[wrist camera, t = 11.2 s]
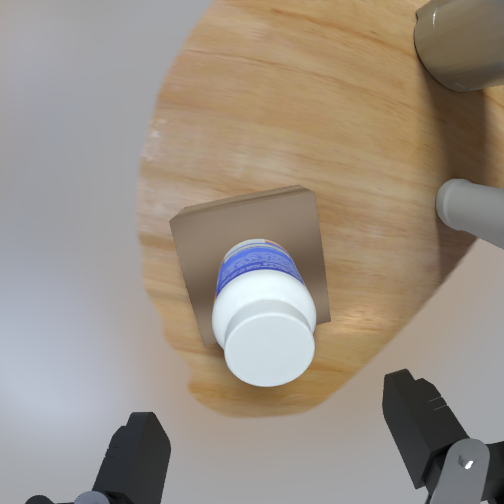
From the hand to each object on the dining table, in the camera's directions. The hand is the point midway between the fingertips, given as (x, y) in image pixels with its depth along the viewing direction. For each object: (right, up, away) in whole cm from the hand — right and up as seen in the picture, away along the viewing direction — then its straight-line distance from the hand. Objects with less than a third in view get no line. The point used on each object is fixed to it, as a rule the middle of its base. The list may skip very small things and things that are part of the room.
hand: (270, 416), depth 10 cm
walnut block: (-1, +6, +19) cm, 20 cm away
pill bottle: (0, +4, +13) cm, 14 cm away
